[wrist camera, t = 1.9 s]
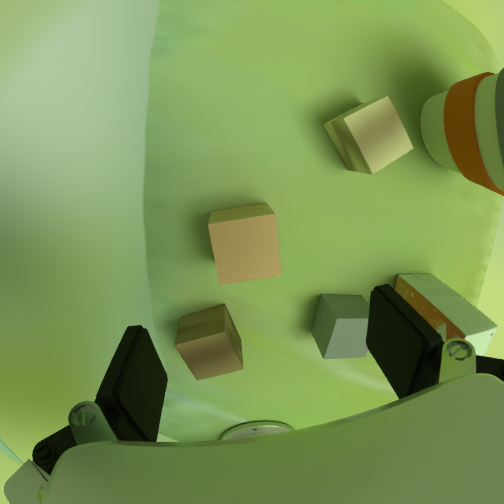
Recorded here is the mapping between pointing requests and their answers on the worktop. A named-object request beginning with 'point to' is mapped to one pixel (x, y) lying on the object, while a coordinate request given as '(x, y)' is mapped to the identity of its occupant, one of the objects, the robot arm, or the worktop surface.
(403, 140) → the pale oak cube
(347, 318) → the slate grey cube
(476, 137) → the reusable coffee cup
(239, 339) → the walnut cube
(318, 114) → the worktop surface
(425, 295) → the small box
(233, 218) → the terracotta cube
